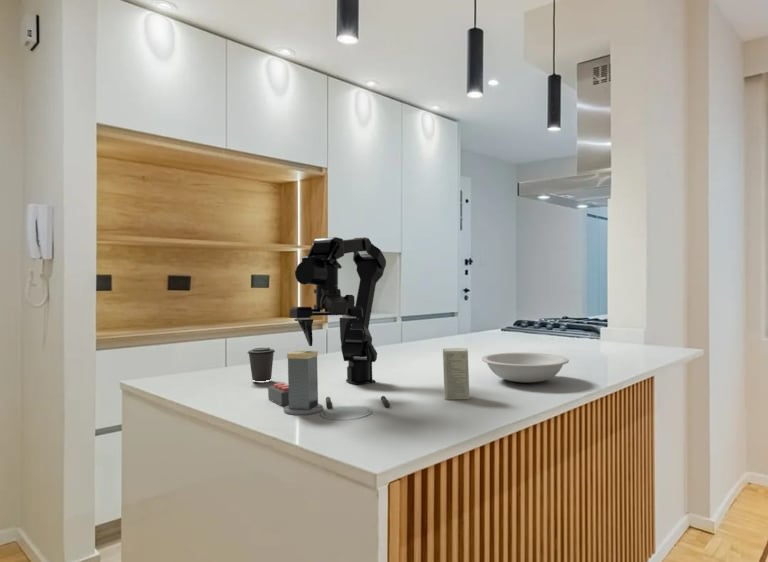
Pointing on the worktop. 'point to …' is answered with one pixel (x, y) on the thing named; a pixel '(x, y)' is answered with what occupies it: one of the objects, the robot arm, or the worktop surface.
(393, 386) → the worktop surface
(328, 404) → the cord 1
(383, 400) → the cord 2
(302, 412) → the gray disc
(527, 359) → the soup bowl
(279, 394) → the gray power strip
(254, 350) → the coffee cup
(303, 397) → the charcoal tea tin
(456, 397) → the skincare box
